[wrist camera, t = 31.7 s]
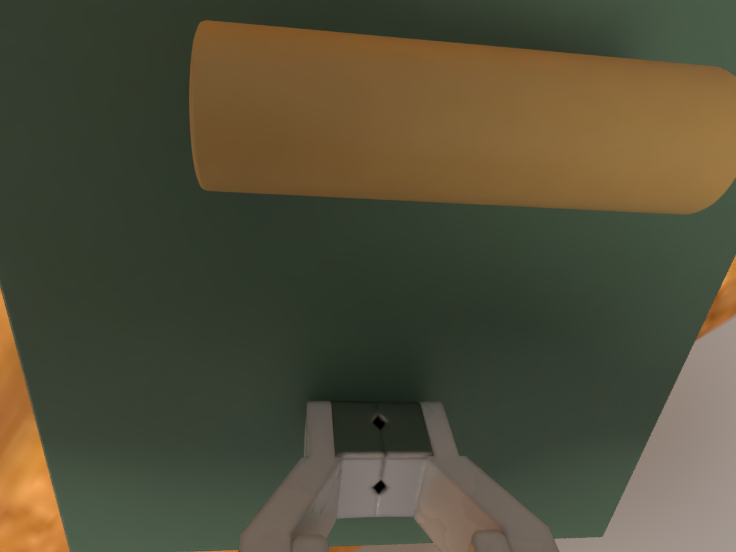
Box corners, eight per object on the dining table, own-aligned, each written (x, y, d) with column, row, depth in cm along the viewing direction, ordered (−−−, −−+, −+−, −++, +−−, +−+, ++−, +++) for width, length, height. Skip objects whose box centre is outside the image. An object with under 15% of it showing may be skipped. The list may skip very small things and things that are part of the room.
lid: (-77, -124, 8) (-473, -197, 4) (826, -19, 10) (1193, 6, 6) (80, 529, 15) (-2, 747, 11) (591, 514, 17) (683, 694, 13)
